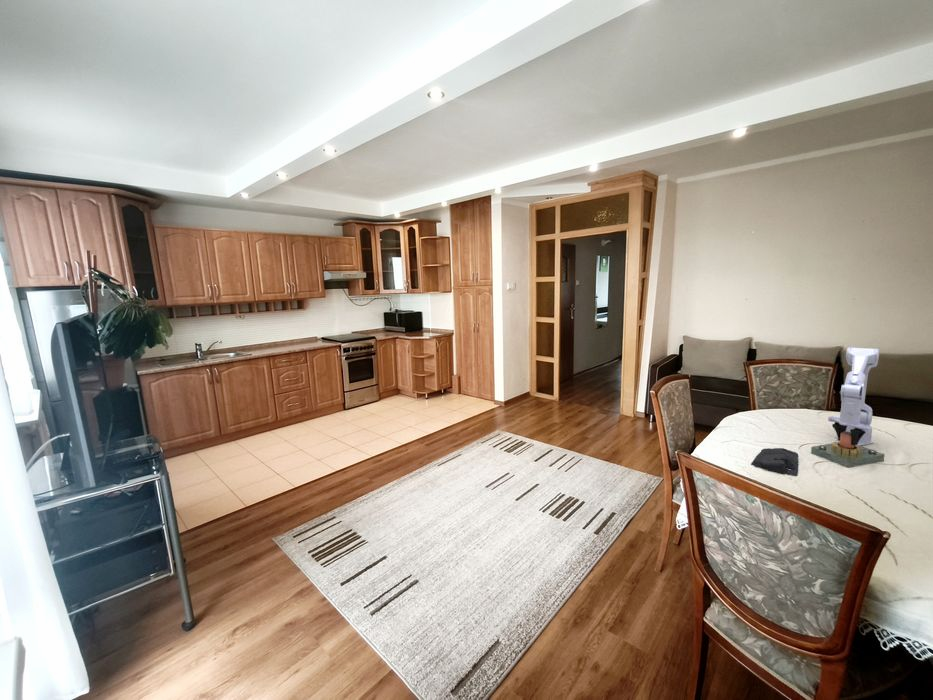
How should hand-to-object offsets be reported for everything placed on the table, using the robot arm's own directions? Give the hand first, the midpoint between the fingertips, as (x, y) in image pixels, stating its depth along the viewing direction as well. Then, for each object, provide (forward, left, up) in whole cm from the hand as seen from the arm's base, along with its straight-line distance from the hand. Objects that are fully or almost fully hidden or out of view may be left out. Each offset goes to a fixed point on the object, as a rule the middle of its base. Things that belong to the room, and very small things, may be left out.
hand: (847, 442), depth 158 cm
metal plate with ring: (0, 0, -7) cm, 7 cm away
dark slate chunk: (+29, -5, -7) cm, 30 cm away
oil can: (0, 0, -3) cm, 3 cm away
